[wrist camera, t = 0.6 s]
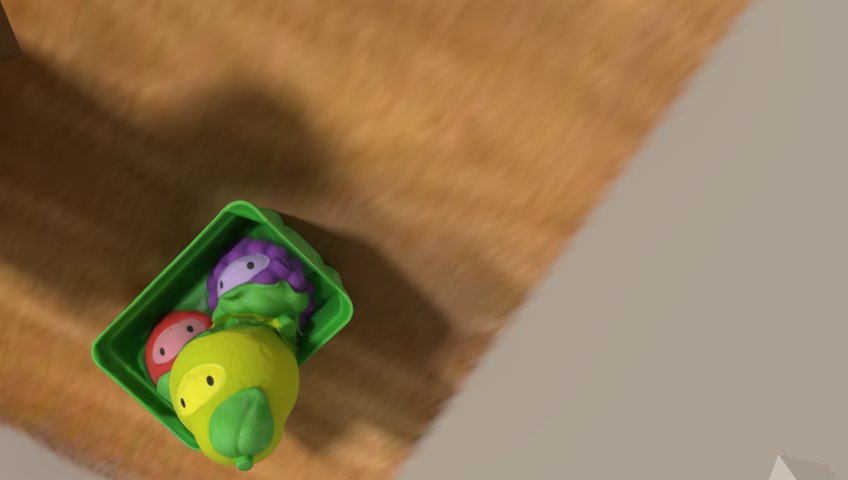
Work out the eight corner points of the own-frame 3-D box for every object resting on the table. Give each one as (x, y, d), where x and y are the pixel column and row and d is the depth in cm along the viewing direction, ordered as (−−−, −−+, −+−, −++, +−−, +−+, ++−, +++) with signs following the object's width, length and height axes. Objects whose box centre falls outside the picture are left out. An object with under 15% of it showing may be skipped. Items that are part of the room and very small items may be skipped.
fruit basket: (270, 172, 37) (182, 224, 26) (392, 293, 38) (358, 391, 27) (131, 314, 39) (-2, 416, 28) (249, 423, 40) (166, 561, 30)
